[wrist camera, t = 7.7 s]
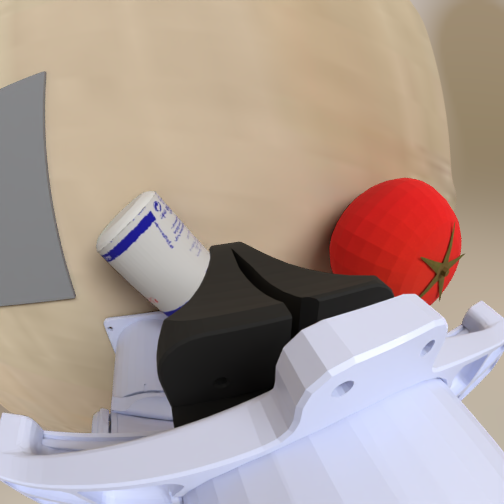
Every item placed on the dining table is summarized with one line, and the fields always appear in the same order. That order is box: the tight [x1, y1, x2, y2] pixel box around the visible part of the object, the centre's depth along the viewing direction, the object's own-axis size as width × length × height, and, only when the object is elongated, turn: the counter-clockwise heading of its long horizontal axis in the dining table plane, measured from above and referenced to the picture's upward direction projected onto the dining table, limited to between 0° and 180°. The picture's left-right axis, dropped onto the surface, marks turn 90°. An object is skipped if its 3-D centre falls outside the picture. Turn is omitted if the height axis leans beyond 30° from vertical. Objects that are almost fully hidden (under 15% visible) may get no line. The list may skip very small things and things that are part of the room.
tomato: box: [329, 178, 464, 305], centre depth 22 cm, size 12×13×11 cm
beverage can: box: [96, 191, 210, 317], centre depth 20 cm, size 6×6×15 cm
